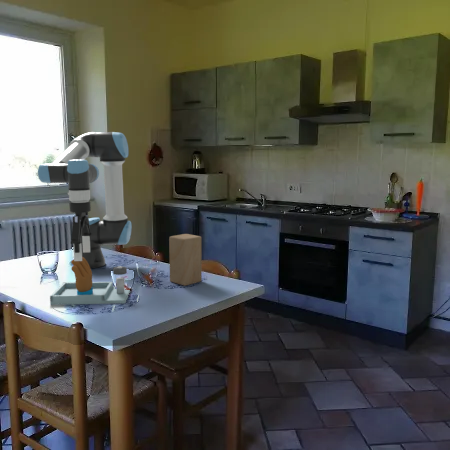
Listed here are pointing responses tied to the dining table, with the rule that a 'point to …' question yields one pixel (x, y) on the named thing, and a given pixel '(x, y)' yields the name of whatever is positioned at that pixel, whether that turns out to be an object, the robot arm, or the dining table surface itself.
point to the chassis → (100, 295)
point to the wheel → (119, 270)
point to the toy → (82, 277)
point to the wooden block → (185, 259)
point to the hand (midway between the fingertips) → (82, 256)
